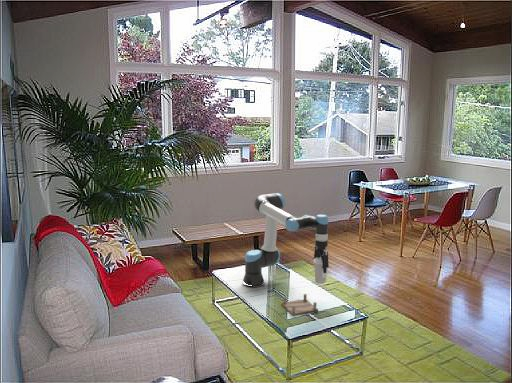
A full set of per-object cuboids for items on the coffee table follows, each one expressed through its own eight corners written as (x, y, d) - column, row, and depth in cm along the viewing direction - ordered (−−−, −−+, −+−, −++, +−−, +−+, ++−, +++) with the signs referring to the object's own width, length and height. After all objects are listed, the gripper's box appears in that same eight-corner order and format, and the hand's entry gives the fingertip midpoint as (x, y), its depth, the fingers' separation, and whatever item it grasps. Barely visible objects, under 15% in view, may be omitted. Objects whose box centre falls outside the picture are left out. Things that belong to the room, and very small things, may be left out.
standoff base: (281, 304, 267) (281, 296, 266) (306, 300, 272) (306, 293, 272) (292, 315, 251) (292, 307, 250) (318, 311, 256) (318, 303, 256)
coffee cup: (311, 283, 263) (311, 260, 261) (314, 278, 272) (315, 255, 270) (326, 285, 260) (327, 261, 257) (329, 280, 268) (330, 257, 266)
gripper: (308, 236, 270) (308, 270, 274) (324, 244, 251) (323, 281, 254) (319, 235, 273) (318, 269, 276) (335, 243, 253) (334, 280, 256)
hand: (320, 275), depth 265 cm, fingers closed on coffee cup, 8 cm apart
